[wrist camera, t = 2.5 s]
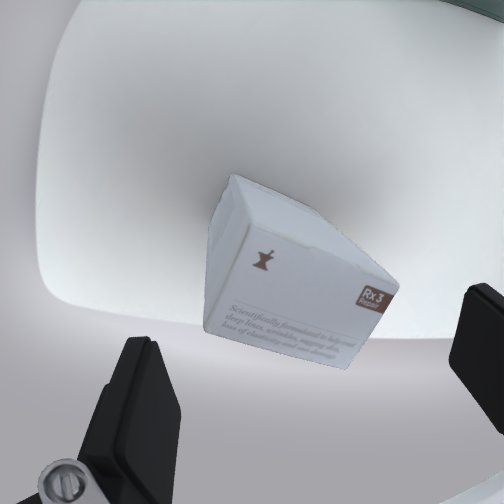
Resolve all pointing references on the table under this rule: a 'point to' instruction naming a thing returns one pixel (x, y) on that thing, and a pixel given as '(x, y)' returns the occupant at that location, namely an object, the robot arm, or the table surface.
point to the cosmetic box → (289, 278)
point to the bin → (483, 7)
